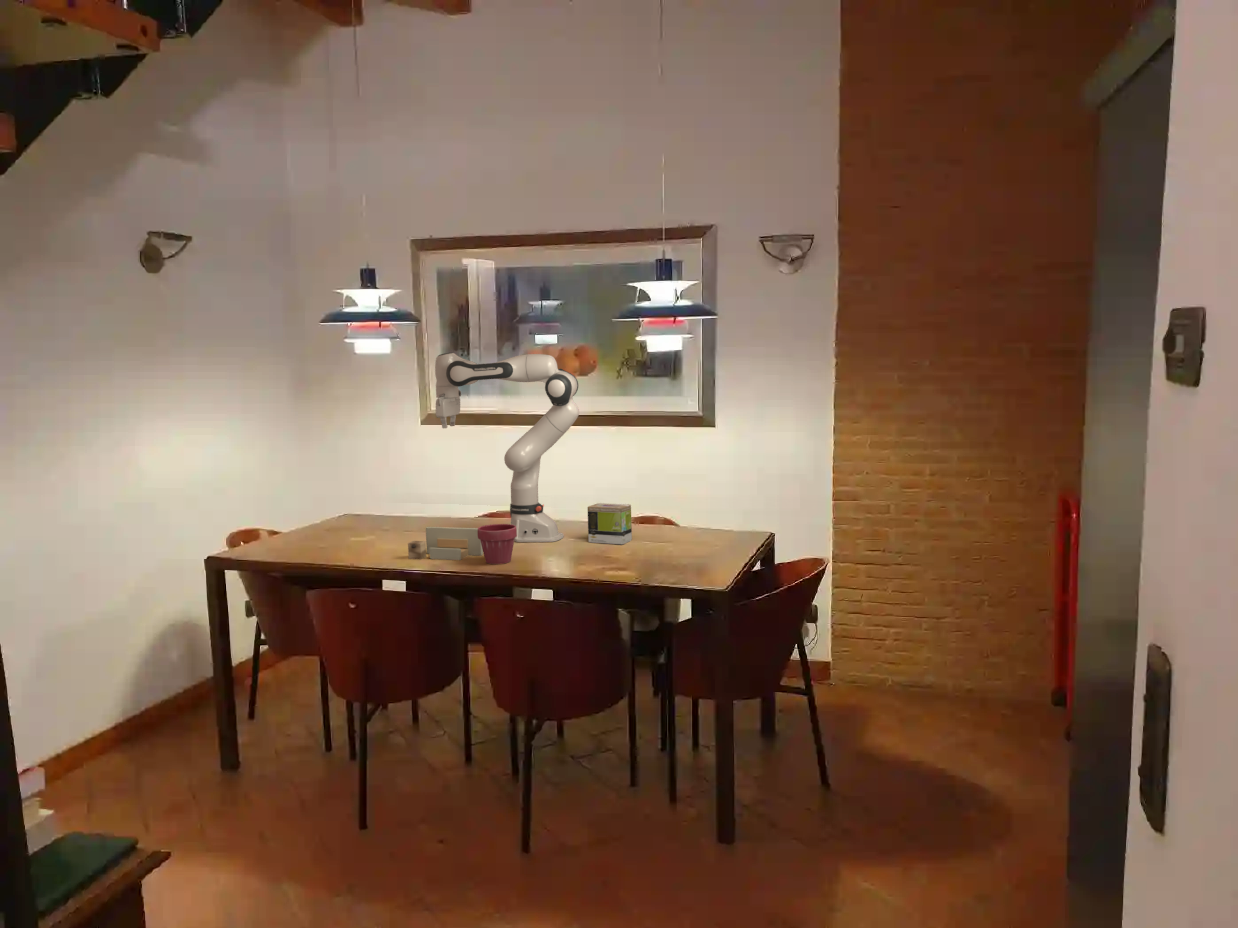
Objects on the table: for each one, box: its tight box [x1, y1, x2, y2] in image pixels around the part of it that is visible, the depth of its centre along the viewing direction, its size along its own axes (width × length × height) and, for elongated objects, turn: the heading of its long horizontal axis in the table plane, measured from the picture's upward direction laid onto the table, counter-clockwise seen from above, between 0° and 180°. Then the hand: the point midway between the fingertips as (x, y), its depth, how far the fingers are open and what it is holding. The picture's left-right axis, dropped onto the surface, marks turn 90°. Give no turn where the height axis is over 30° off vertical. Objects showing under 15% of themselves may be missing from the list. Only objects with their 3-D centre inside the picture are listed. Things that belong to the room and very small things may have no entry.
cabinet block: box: [407, 540, 427, 560], centre depth 347 cm, size 5×5×6 cm
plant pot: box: [477, 523, 517, 565], centre depth 338 cm, size 14×14×13 cm
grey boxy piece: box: [425, 526, 484, 561], centre depth 348 cm, size 22×10×10 cm, turn 77°
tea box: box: [587, 502, 633, 545], centre depth 369 cm, size 15×10×15 cm
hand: (448, 427), depth 379 cm, fingers open, 8 cm apart
